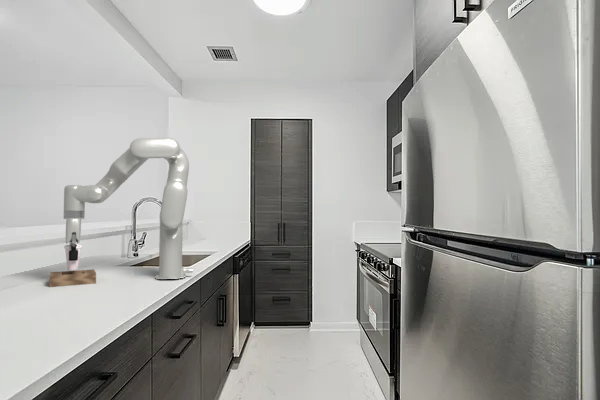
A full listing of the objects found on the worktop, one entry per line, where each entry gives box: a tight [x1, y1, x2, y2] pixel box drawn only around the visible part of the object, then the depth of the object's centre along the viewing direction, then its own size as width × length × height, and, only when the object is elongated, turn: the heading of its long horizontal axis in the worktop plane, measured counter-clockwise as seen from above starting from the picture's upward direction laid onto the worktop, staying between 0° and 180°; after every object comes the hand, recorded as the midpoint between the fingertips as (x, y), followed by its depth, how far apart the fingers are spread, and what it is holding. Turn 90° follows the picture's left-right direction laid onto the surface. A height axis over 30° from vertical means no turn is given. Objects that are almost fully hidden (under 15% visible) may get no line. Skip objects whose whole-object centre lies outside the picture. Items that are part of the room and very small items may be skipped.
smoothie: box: [63, 242, 83, 271], centre depth 166 cm, size 6×6×14 cm
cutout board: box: [49, 268, 97, 288], centre depth 166 cm, size 16×12×4 cm
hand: (73, 259), depth 166 cm, fingers closed on smoothie, 6 cm apart
